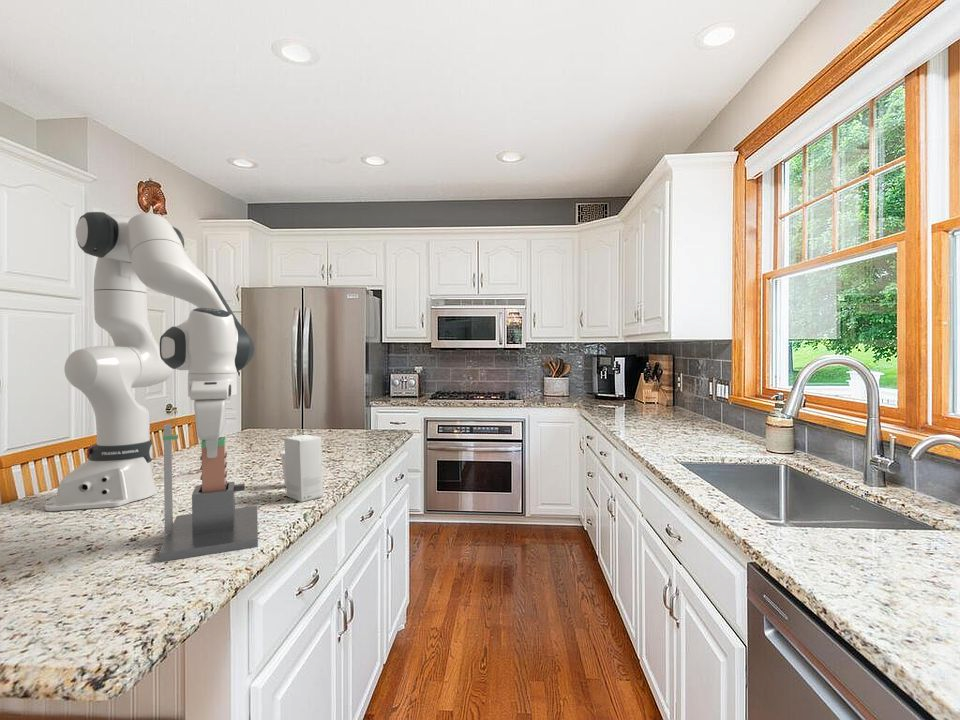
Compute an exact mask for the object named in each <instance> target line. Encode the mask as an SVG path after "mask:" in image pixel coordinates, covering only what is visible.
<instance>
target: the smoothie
mask: <svg viewBox="0 0 960 720" xmlns="http://www.w3.org/2000/svg"><path fill="white" fill-rule="evenodd" d="M294 436H295V435H291V437H294ZM279 457H280V458H281V459H280V460H281V467H282V473H283V481H284V487H285V488H286V466H285V450H282V451H280V452H279Z"/></svg>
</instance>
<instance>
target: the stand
mask: <svg viewBox="0 0 960 720" xmlns="http://www.w3.org/2000/svg"><path fill="white" fill-rule="evenodd" d="M172 427H173V425H172V424H164V425H163V428H162V429H163V436H162V441H163V489H164V490H163V491H164V492H163V494H164V499H163V501H164V502H163V503H164V535H167V536H166V538H165V541H164V542H163V545H162V546H161V548H160V550H159V552H158V563H161V561H163V562H168V560H169V561H174V559H175V560H181V559H180V558H182V559H187V557H188V558H193V557H200V555H201V556H206V554H207V555H213V554H212V553H214V554H218V553H217V552H220V553H224V552H223V551H226V552H230V551H229V550H233V551H237V549H239V550H244V549H243V548H245V549H250V547H252V548H257V547H259V535H258V530H259V529H258V528H259V527H258V505H252V506H245V507H244V506H243V507H237V508H236V505H235V504H236V502H235V501H236V499H235V497H236V495H235V494H236V493H235V492H241V491H243V492H244V491H245V486H246V485H245V483H239V484H237V483H236V484H235V481H227V487H226V490H220V491H210V492H202V490H200V487H201V485H202V484H200V485H199V484H196V485H195V487H194V489H193V491H192V494H191V513H188V514H182V515H181V514H179V515H176V517H175V519H174V518H173V516H174V515H173V512H174V511H173V508H174V507H173V503H174V502H173V500H174V499H173V449H172V448H173V440H178V439H179V435H178V434H173V430H172V429H173V428H172Z"/></svg>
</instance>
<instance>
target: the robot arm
mask: <svg viewBox="0 0 960 720" xmlns="http://www.w3.org/2000/svg"><path fill="white" fill-rule="evenodd" d="M75 237H76V240H77V241H76V242H77V245H78V247H79V248H80V249H81V250H82V252H84V253H85V254H87V255H89V256H92V257H96V258H97V260H96V263H95V268H94V269H95V270H94V277H93V278H94V279H93V307H94V308H93V309H94V310H93V311H94V313H93V315H94V320H95V323H96V324H97V325H98V326H99V327H100V328H101V329H103V330H104V331H106V332H107V333H108V334H109V336H110V337H111V339H112V341H113V345H114V346H113V345H112V346H111V345H109V346H108V345H97V346H90V347H86V348H80V349H76V350H74V351H72V352H71V353H70V354H69V355H68V356H67V358H66V360H65V363H64V375H65V378H66V379H67V381H68V382H69V384H71V385H72V386H73V387H75V388H76V389H78V390H79V391H80V392H81V393H83V395H85V397H86V398H87V399H88V401H89V403H90V405H91V407H92V409H93V411H94V416H95V427H96V442H95V443H93V444H91V445H89V447H88V448H87V449H86V450H85V451H86V453H85V455H86V458H87V459H88V460H86V461H84V463H81V465H79V466H78V467H76V468H75V469H74V470H72V471H70V472H69V473H68V474H66V476H64V477H63V478H62V480H61V481H60V482H59V484H58V487H57V492H56V496H54V497H52V498H51V499H49V500H48V501H47V502H46V503H45V504H44V510H45V511H46V512H58V511H71V510H86V509H98V508H99V509H101V508H103V509H104V508H115V507H121V506H124V505H126V504H129V503H132V502H136V501H139V500H144V499H147V498H149V497H153V496H154V495H157V493H158V492H159V490H158V487H157V485H156V482H155V478H154V473H153V468H152V465H153V464H152V460H153V458H154V457H153V455H154V453H153V448H154V447H153V446H154V445H153V440H152V439H151V435H150V434H151V432H150V431H151V430H150V429H151V425H150V423H151V422H150V420H151V419H150V417H151V416H150V412H149V409H148V408H146V406H145V405H142V404H140V403H138V401H136V399H135V397H134V395H133V390H132V389H136V388H146V387H151V386H155V385H158V384H161V383H163V382H166V381H167V380H168V379H169V378H170V376H171V375H172V372H173V370H179V371H187V397H189V398H190V400H191V401H193V407H194V408H193V409H194V418H195V419H194V420H195V427H196V432H197V433H196V434H197V437H198V439H199V440H200V441H202V440H205V442H206V448H207V457H208V458H215V457H217V445H218V438H220V437H222V434H223V431H224V428H225V426H226V421H227V417H226V416H227V415H226V414H227V412H226V411H227V410H226V405H229V404H231V397H232V396H237V395H238V372H239V371H241V370H243V369H245V367H246V366H247V365H248V364H249V363H250V362H251V361H252V359H253V358H254V355H255V350H256V349H255V343H254V340H253V338H252V336H251V335H250V333H249V332H248V331H247V330H246V329H245V327H243V325H241V323H240V322H239V320H238V319H237V317H236V315H235V314H234V313H233V311H232V309H231V307H230V306H229V304H228V302H227V301H226V299H225V297H224V296H223V294H222V292H221V291H220V289H219V288H218V286H217V284H215V282H214V280H212V278H211V277H209V276H208V275H207V274H205V273H204V272H203V271H202V270H200V268H198V266H197V265H195V264H194V262H193V261H192V260H191V258H190V257H189V256H188V254H187V251H186V250H185V239H184V236H183V234H182V232H181V231H180V229H178V228H176V227H175V226H172V224H171V223H170V221H168V219H166V218H165V217H163V216H162V215H160V214H156V213H152V212H143V213H139V214H136V215H133V216H127V215H121V214H112V213H111V214H109V213H106V212H103V211H89V212H85V213H84V214H83V215H81V216H80V217H79V219H78V222H77V225H76V226H75ZM148 288H149V289H150V290H152V291H154V292H157V293H159V294H163V295H166V296H170V297H173V298H176V299H179V300H183V301H185V302H188V303H190V304H192V305H194V306H196V307H197V308H193V309H192V310H190V313H189V315H188V317H187V319H186V320H184V322H181V323H180V324H178V325H175V326H174V325H173V326H171V327H169V328H168V329H167V330H165V331H164V333H163V334H162V335H160V339H159V344H158V342H157V340H156V338H155V337H154V333H153V332H152V329H151V325H150V321H149V310H148V305H149V304H148Z"/></svg>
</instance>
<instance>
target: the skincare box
mask: <svg viewBox="0 0 960 720" xmlns="http://www.w3.org/2000/svg"><path fill="white" fill-rule="evenodd" d="M293 436H294V437H292V436H290V437H284V440H283V441H284V442H283V443H284V451H285V466H286V487H285V489H286V497H287V496H288V498H290V499H292V498H293V500H295V501H298V502H300V503H302V502H308V501H311V500H315V499H320V498H322V497H324V477H323V476H324V475H323V474H324V473H323V453H322V452H323V450H322V449H323V448H322V437H320V436H315V435H312V434H311V435H309V434H301V435H293Z"/></svg>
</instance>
